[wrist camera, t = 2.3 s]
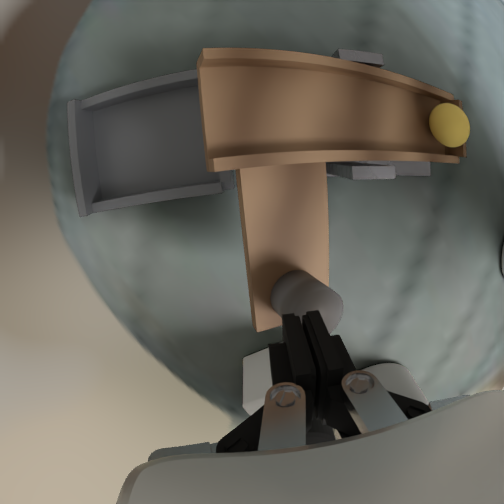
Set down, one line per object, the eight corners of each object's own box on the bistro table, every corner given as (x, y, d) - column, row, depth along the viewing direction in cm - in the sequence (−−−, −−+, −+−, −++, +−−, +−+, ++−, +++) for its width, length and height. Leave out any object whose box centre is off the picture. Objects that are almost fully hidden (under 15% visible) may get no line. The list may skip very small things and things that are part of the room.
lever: (435, 96, 17) (469, 93, 14) (435, 262, 22) (466, 276, 19) (196, 63, 12) (210, 31, 8) (229, 331, 17) (249, 370, 13)
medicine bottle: (241, 356, 28) (240, 452, 17) (304, 330, 27) (332, 424, 16) (269, 394, 30) (277, 480, 19) (325, 372, 29) (352, 457, 18)
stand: (420, 85, 19) (467, 72, 12) (427, 175, 22) (477, 185, 15) (299, 74, 19) (321, 42, 12) (310, 177, 22) (337, 186, 15)
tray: (222, 74, 19) (218, 61, 16) (234, 188, 22) (232, 193, 19) (87, 106, 19) (67, 102, 16) (99, 208, 23) (79, 217, 19)
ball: (443, 108, 17) (474, 106, 13) (447, 147, 18) (478, 150, 15) (418, 101, 16) (451, 97, 13) (422, 144, 17) (456, 146, 14)
